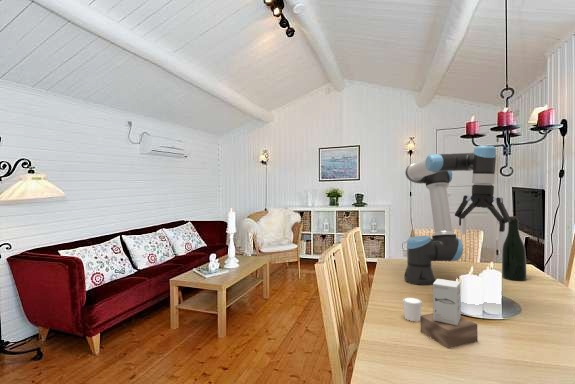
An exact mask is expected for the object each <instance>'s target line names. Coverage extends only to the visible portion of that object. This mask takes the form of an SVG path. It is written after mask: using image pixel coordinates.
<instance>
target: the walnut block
mask: <svg viewBox="0 0 575 384" xmlns="http://www.w3.org/2000/svg"><path fill="white" fill-rule="evenodd" d="M419 325H420V332H421V334H423V333H424V334H423V335H425V334H426V336H427V337H428V336H429V337H428V338H430V337H431V338H430V339H432V340H433V339H434V341H435V342H437V343H439V344H440V345H442V346H444V347H445V348H447V349H453V348H457V347H461V346H464V345H469V344H474V343H477V342H478V341H479V339H478V336H479V335H478V323H476V322H473V321H471V320H469V319H468V318H465V317H462V316H461V318H460V321H459V323H458V325H457V326H456V325H452V324H448V323H444V322H439V321H434V320H433V312H432V313H429V314H428V313H427V314H421V316H420V321H419Z"/></svg>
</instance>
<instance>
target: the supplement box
mask: <svg viewBox="0 0 575 384" xmlns="http://www.w3.org/2000/svg"><path fill="white" fill-rule="evenodd" d="M461 299H462V298H461V282H460V281H458V280H457V281H456V280H448V279H443V278H436V279H435V282H434V283H433V284H432V304H433V305H432V306H433V308H432V309H433V312H432V313H433V320H434V321H439V322H444V323H448V324H452V325H456V326H457V325H458V323H459V321H460V318H461V317H462V316H461V315H462V314H461V311H462V310H461V309H462V308H461V307H462V306H461V305H462V303H461V301H462V300H461Z"/></svg>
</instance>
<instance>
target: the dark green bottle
mask: <svg viewBox="0 0 575 384" xmlns="http://www.w3.org/2000/svg"><path fill="white" fill-rule="evenodd" d="M509 217H510V219H511V222H507V223H508V227H507V228H508V229H507V234H506V237H505V239H504V242H503V244H502V251H501V275H502V277H503V278H504V279H505V280H509V281H516V282H517V281H518V282H520V281H521V282H522V281H525V280H526V281H527V256H526V255H527V254H526V247H525V244H524V241H523V240H522V238H521V235H520V231H519V219H518V216H515V215H514V216H513V215H511V216H510V215H509Z"/></svg>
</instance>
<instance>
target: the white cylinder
mask: <svg viewBox="0 0 575 384" xmlns="http://www.w3.org/2000/svg"><path fill="white" fill-rule="evenodd" d="M422 303H423V301H422V300H421V299H419V298H417V297H404V298H402V305H403V313H404V314H403V315H404V316H403V317H404V319H405V320H406V319H407V321H409V320H410V322H413V321H417V322H420V316H421V315H422V307H423V306H422Z"/></svg>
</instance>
